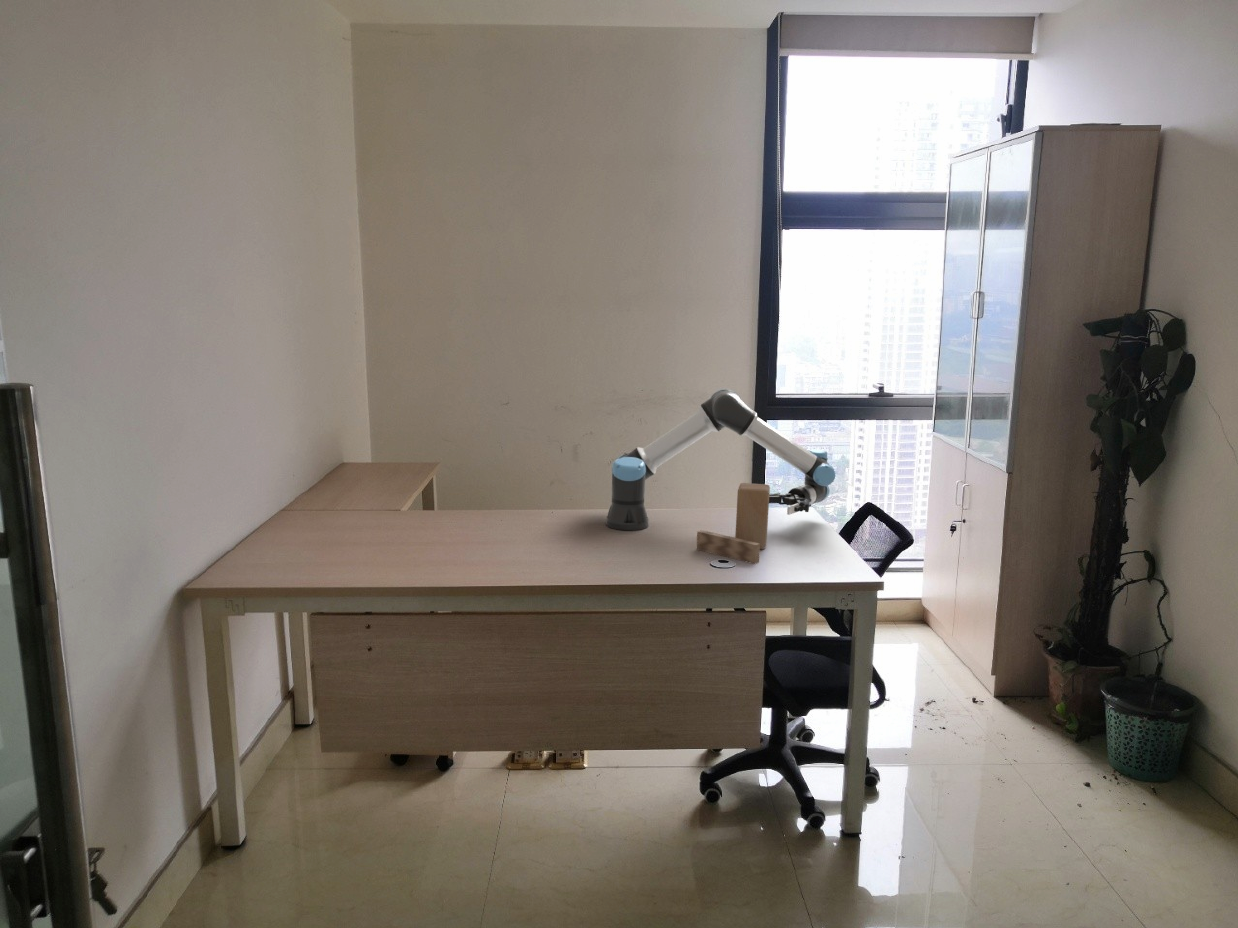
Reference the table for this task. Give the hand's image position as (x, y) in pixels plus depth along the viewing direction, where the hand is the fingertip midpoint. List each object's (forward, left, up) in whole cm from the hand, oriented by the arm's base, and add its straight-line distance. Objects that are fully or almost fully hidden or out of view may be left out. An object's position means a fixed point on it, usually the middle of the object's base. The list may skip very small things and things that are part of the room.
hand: (770, 507), depth 303 cm
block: (0, -11, -11) cm, 16 cm away
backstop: (+1, -27, -11) cm, 29 cm away
